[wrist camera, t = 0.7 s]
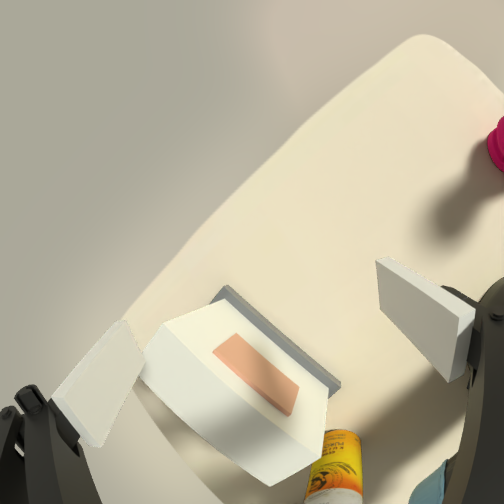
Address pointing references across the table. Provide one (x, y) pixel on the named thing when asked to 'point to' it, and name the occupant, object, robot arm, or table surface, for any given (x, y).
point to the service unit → (241, 386)
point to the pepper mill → (497, 145)
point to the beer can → (337, 471)
